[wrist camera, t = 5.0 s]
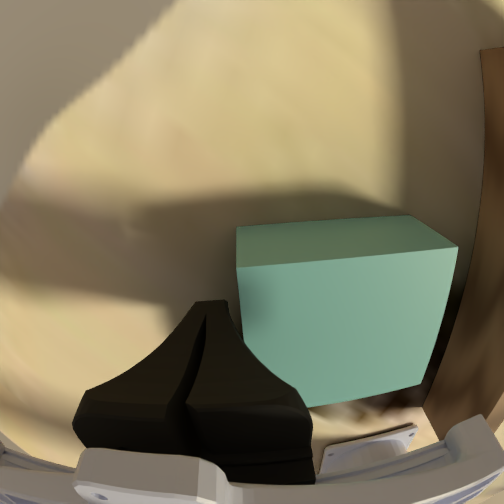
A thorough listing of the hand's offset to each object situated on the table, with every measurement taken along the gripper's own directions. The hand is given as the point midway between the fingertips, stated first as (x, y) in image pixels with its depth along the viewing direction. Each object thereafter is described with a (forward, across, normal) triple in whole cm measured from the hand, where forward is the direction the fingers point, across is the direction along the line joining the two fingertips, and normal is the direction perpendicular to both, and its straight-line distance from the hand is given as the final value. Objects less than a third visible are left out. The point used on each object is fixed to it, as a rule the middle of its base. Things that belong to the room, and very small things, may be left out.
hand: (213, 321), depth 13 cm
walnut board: (+2, -15, 0) cm, 15 cm away
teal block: (+2, -5, 0) cm, 6 cm away
